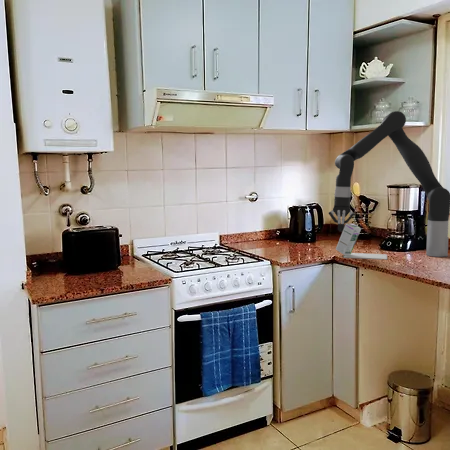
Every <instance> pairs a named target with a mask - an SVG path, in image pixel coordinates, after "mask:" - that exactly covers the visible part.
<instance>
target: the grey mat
mask: <svg viewBox="0 0 450 450" xmlns="http://www.w3.org/2000/svg"><path fill="white" fill-rule="evenodd" d="M342 257H343V258H345V259H366V260H382V259H384V260H386V261H387V260H388V254H384V253H383V254H382V253H365V252H364V253H362V252H361V253H360V252H351V254H345V255H343V256H342Z"/></svg>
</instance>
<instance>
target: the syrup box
mask: <svg viewBox="0 0 450 450" xmlns="http://www.w3.org/2000/svg"><path fill="white" fill-rule="evenodd" d="M361 230H362V228H361V227H360V226H358V225H357V224H355V223H345V224H344V229H343V231H342V232H341V234H340V237H339V240H338V243H337V245H336V247H335V250H336V251H337V252H338V253H340V254H342V255H343V256H344V255H345V254H351V253H353V252H352V251H353V250H354V248H355V245H356V243H357V240H358V237H359V235H360V232H361Z"/></svg>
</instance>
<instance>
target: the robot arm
mask: <svg viewBox="0 0 450 450" xmlns="http://www.w3.org/2000/svg"><path fill="white" fill-rule="evenodd" d="M406 121H407V118H406V115H405V114H404V113H403V112H402V111H399V110H395V111H392V112H390V113H388V114H387V115H386V116H385V117H384V118H383V119H382V121H381V124H379V125H378V126H377V127H376V128H375V129H373V130H372V131H371V132H369V133H368V134H366V135H365V136H364V137H362V138H361V139H359V140H358V141H357V142H356V143H355V144H353V145H352V146H351V147H349V148H348V149H347V150H344V152H342V153H340V154H338V156H337V157H336V158H335V160H334V166H335V168H336V169H339V173H338V175H336V177H335V178H336V179H335V188H334V202H333V207H332V210H330V211H329V212H328V215H329V217H331V219H332V221H333V222H334V223H336V224H337V231H338V232H341V233H342V232H343V229H344V227H345V225H346V224H349V221H351V219H352V218H353V217H354V216H355V214H356V213H355V212H353V211H352V210H351V196H352V195H351V192H352V190H351V188H352V187H351V186H352V185H351V182H352V176H353V172H354V168H355V161H358V160H359V159H362V158H363V157H365V155H368V153H369V152H370V151H372V150H373V149H374V148H375V147H376V146H378V144H379V143H381V142H382V141H383V140H384V139H385V138H387V137H389V139H390V141H392V143H393V144H394V145H395V148H396V150H398V152H399V154H400V155H401V158H402V159H403V161H404V162H405V163H406V166H407V168H409V171H411V173H412V174H413V176H414V177H415V178H416V180H417V181H418V182H419V183H420V185H421V187H422V189H423V190H424V192H425V195H426V197H427V200H428V202H429V205H428V214H427V229H426V230H427V231H426V233H427V234H426V249H425V250H426V253H425V254H426V256H429V257H439V258H441V257H448V255H449V253H448V252H449V236H448V235H449V220H450V219H449V217H450V191H449V190H448V189H447V188H445V187H443V185H442V184H441V183H440V181H439V180H438V179H437V178H436V176H435V174H434V171H433V169H432V166H431V164H430V162H429V159H428V158H427V156H426V154H425V152H424V150H423V149H422V148H421V147H420V146H419V145H418V144H416V143H415V142H414V141H413V140H411V138H409V136H408V135H407V134H406V132H405V131H404V129H403V128H404V126H405V125H406ZM334 214H335V215H334ZM347 216H348V218H347ZM336 217H337V218H336ZM346 218H347V219H346ZM345 219H346V220H345Z"/></svg>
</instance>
